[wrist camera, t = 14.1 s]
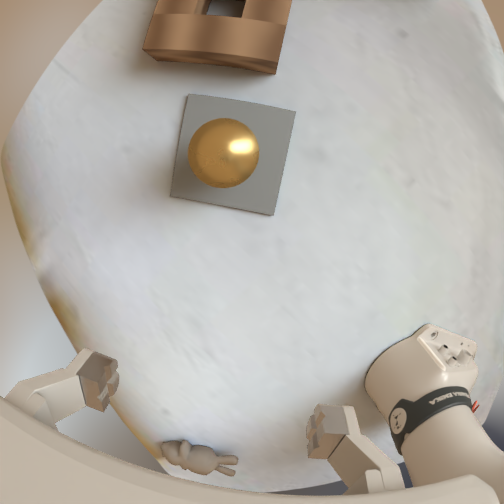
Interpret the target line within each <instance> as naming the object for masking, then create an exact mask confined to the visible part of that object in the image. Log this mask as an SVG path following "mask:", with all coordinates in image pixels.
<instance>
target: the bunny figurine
mask: <svg viewBox="0 0 504 504" xmlns="http://www.w3.org/2000/svg"><path fill="white" fill-rule="evenodd" d="M161 450H162V455H163V457H166V459H167V460H168V462H170V463H171V464H173V465H180V466H181V467H182V469H184V470H186V469H189V470H190V471H192V472H194V473H197V474H201V475H207V474H209V473H210V472H212V471H213V470H214V469H215V470H217V471H219V472H221V473H223V474H225V475H228V476H234V475H235V473H236V471H235V470H232V469H229V468H225V467H223V466H220V464H224V465H237V462H238V457H237V456H234V455H227V456H216V454H215V453H214V451H213V449H212V448H209V447H206V446H202V445H194V446H192V445H191V444H190V443H189V442H188V441H187V440H183V441H182V443H181V442H178V441H170V442H167V443H165V442H163V444H162V446H161Z"/></svg>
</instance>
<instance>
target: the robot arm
mask: <svg viewBox="0 0 504 504" xmlns="http://www.w3.org/2000/svg"><path fill="white" fill-rule="evenodd" d="M476 351H477V344H476V342H475V341H473V340H471V339H468V338H466V337H463V336H461V335H458V334H456V333H453V332H451V331H448V330H446V329H443V328H440V327H438V326H435V325H433V324H426V325H424V326H423V327H422V328H420V329H419V330H418V331H417V332H416V333H415V334H414V335H412V336H411V337H409V338H407V339H405V340H403V341H400V342H398V343H397V344H395V345H393V346H392V347H390V348H389V349H388V350H386V351H385V352H384V353H383V354H382V355H381V356H380V357H379V358H378V359H377V360H376V361H375V362H374V363H373V365H372V366H371V368H370V370H369V371H368V374H367V376H366V380H365V389H366V392H367V393H368V395H369V396H370V397H371V398H372V399H373V401H374V402H375V403H376V406H377V408H378V410H379V412H380V413H382V414H383V416H384V418H385V420H386V421H387V423H388V425H389V426H390V431H391V436H392V438H393V441H394V443H395V447H396V449H397V450H398V453H399V454H400V455H402V456H403V458H404V461H405V464H406V466H407V469H408V472H409V475H410V478H411V481H412V483H413V486H414V487H413V488H407V489H405V486H404V482H403V479H402V476H401V472H400V469H399V466H398V465H396V464H395V463H394V462H393V461H392V460H391V459H390V458H389V457H388V456H386V455H385V454H384V453H383V452H382V451H381V450H380V449H379V448H378V447H377V446H376V445H374V444H373V443H372V442H371V441H370V440H369V439H368V438H367V437H366V436H365V435H361V432H360V428H359V425H358V421H357V417H356V413H355V410H354V407H353V406H340V405H327V404H317V405H316V407H315V409H314V415H312V416H310V418H309V420H308V423H307V427H306V437H307V438H308V439H309V443H308V445H307V451H308V458H316V459H328V462H329V463H330V464H331V466H332V467H333V468H334V470H335V471H336V472H337V474H338V475H339V476H340V478H341V479H342V480H343V481H344V483H345V484H346V486H347V487H348V488H349V489H348V490H347V491H346V492H345V493H344V494H343V495H335V496H301V495H282V494H269V493H259V492H251V491H243V490H236V489H230V488H224V487H218V486H213V485H208V484H203V483H198V482H194V481H189V480H185V479H181V478H177V477H173V476H169V475H166V474H163V473H159V472H156V471H153V470H149V469H146V468H143V467H140V466H137V465H134V464H131V463H129V462H126V461H123V460H120V459H118V458H115V457H113V456H110V455H108V454H105V453H103V452H100V451H98V450H96V449H93V448H91V447H89V446H87V445H85V444H82V443H80V442H78V441H76V440H74V439H72V438H70V437H68V436H66V435H64V434H62V433H60V432H58V430H57V427H56V425H55V423H56V422H58V421H60V420H61V419H63V418H65V417H67V416H69V415H71V414H73V413H75V412H77V411H79V410H80V409H82V408H84V407H86V406H89V407H91V408H94V409H96V410H99V411H102V412H104V411H105V409H106V407H107V406H108V404H109V403H110V399H109V397H110V396H112V395H114V394H115V392H116V391H117V388H118V385H119V374H118V372H117V371H116V369H117V368H118V362H117V360H116V359H113V358H111V357H108V356H105V355H103V354H100V353H98V352H95V351H92V350H90V349H88V348H84V349H82V350H81V351H80V352H79V354H78V355H77V356H76V357H75V358H74V360H73V361H72V362H71V363H70V364H69V365H68V367H67V368H66V369H63V368H62V369H59V370H55V371H52V372H49V373H46V374H43V375H40V376H37V377H33V378H30V379H26V380H23V381H20V382H18V383H17V385H16V386H15V387H14V388H13V389H12V390H11V391H10V392H9V394H8V395H7V396H6V397H5V398H3V397H1V396H0V504H504V452H503V451H501V450H500V449H499V448H498V447H497V446H496V445H495V444H494V443H493V442H492V441H491V439H490V438H489V436H488V435H487V434H486V432H485V431H484V429H483V428H482V426H481V425H480V423H479V422H478V420H477V418H476V417H475V415H474V414H473V413H474V412H475V411H476V409H477V408H478V407H479V405H478V406H477V407H476V408H475V406H476V403H477V401H475V402H474V404H473V405H472V404H471V399H470V393H471V390H472V388H473V386H474V384H475V382H476V379H477V376H478V367H477V365H476V364H475V362H474V361H473V360H474V358H475V355H476ZM474 408H475V409H474ZM473 409H474V410H473Z"/></svg>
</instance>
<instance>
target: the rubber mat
mask: <svg viewBox="0 0 504 504" xmlns="http://www.w3.org/2000/svg"><path fill="white" fill-rule="evenodd" d="M295 114H296V112H295V111H291V110H286V109H282V108H277V107H272V106H267V105H262V104H257V103H251V102H246V101H240V100H233V99H227V98H220V97H212V96H205V95H196V94H188V99H187V104H186V108H185V113H184V118H183V123H182V128H181V134H180V139H179V144H178V150H177V156H176V162H175V168H174V174H173V181H172V187H171V194H170V196H172V197H178V198H184V199H190V200H195V201H201V202H206V203H212V204H217V205H222V206H228V207H233V208H238V209H243V210H248V211H253V212H258V213H263V214H268V215H273V216H274V212H275V207H276V203H277V198H278V193H279V189H280V184H281V180H282V175H283V170H284V166H285V161H286V156H287V152H288V147H289V142H290V138H291V133H292V128H293V123H294V119H295ZM218 118H230V119H235V120H237V121H240V122H241V123H243V124H245V125H246V126H247V127H248V128H249V129H250V130H251V131H252V132H253V133H254V135H255V137H256V139H257V142H258V145H259V160H258V164H257V166H256V168H255V170H254V172H253V173H252V175H251V176H250V177H249V178H248V179H247V180H245V181H244V182H243V183H241V184H239V185H237V186H234V187H230V188H216V187H212V186H209V185H207V184H205V183H203V182H202V181H201V180H200V179H198V178H197V177H196V175H195V174H194V173H193V171H192V169H191V167H190V164H189V161H188V147H189V143H190V140H191V138H192V136H193V134H194V133H195V132H196V131H197V129H198V128H199V127H201V126H202V125H203V124H205V123H206V122H209V121H211V120H214V119H218Z"/></svg>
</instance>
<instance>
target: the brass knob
mask: <svg viewBox="0 0 504 504" xmlns="http://www.w3.org/2000/svg"><path fill="white" fill-rule="evenodd" d="M258 160H259V145H258V142H257V139H256V137H255V135H254V133H253V132H252V131H251V130H250V129H249V128H248V127H247V126H246V125H245V124H243V123H241V122H240V121H237V120H235V119H230V118H218V119H214V120H211V121H209V122H206V123H205V124H203V125H202V126H201V127H199V128H198V129H197V131H196V132H195V133H194V134H193V136H192V138H191V140H190V143H189V147H188V161H189V164H190V167H191V169H192V171H193V173H194V174H195V175H196V177H197V178H198V179H200V180H201V181H202V182H203V183H205V184H207V185H209V186H212V187H216V188H230V187H234V186H237V185H239V184H241V183H243V182H244V181H245V180H247V179H248V178H249V177H250V176H251V175H252V173H253V172H254V170H255V168H256V166H257V164H258Z"/></svg>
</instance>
